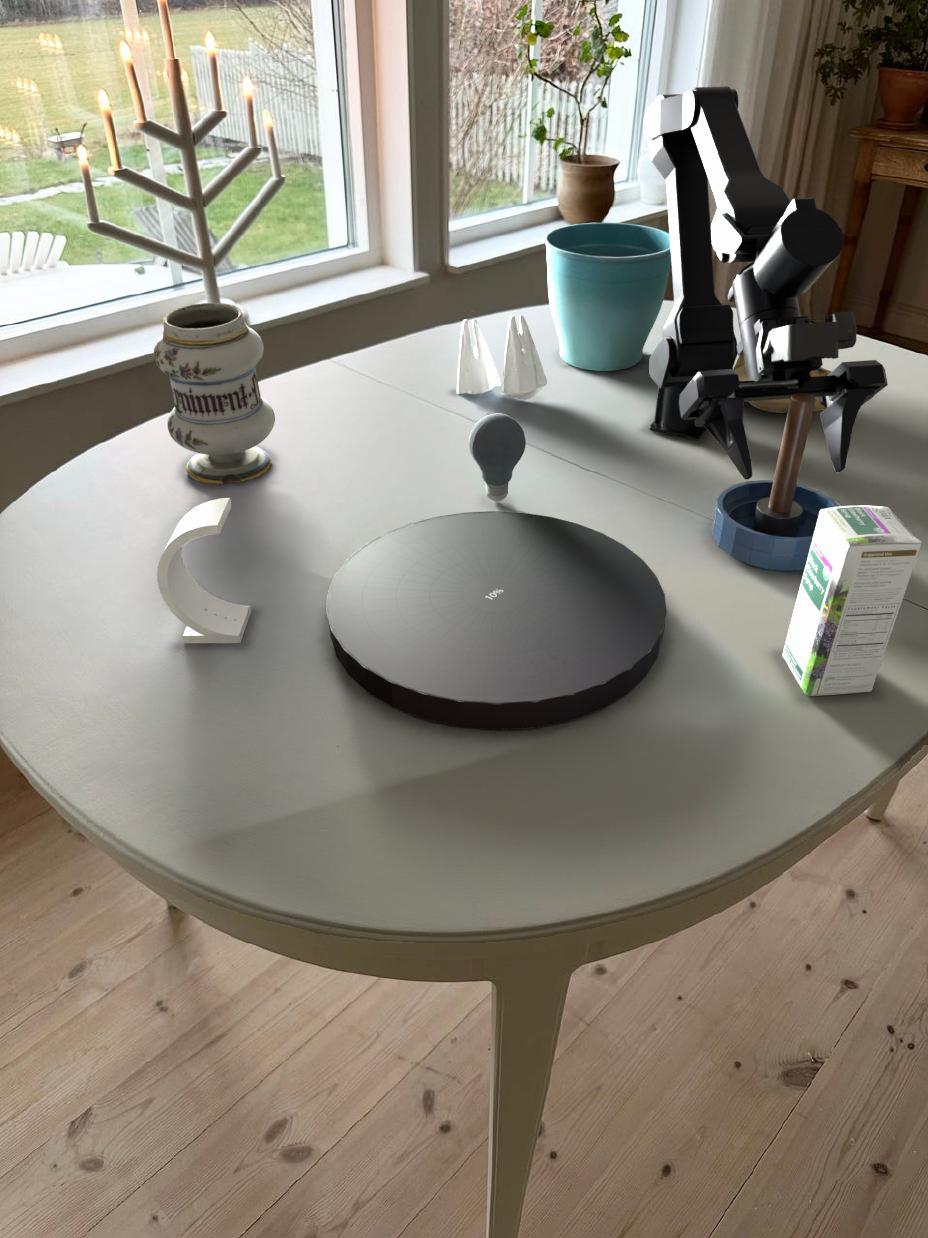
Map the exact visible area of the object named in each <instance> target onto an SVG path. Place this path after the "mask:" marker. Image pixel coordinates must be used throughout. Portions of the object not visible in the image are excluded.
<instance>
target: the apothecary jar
mask: <svg viewBox="0 0 928 1238" xmlns="http://www.w3.org/2000/svg"><path fill="white" fill-rule="evenodd" d="M162 326H163V328H162V335H161V336H160V337H159V338H158V340H156V343H155V344H154V348H153V360H154V362H155V364H156V366H157V367H158V368H159V370H160V371H161V372H163V373H164V374H166V375H167V376H168V377H169V381H170V387H171V393H172V398H173V403H174V407H173V409H171V411H170V413H169V415H168V418H167V431H168V433H169V436H170V437H171V438H172V440H173V441H174V442H175V443H176V444H177V445H179V446H180V447H181V448H184V449H185V450H188V451H189V452H193V453H196V454H195V455H192V457H191V458H190V459H189V460H188V462H187V463H186V466H185V470H186V473H187V474H188V476H189V477H190V478H192V479H193V480H195V481H197V482H200V483H203V484H208V485H226V484H229V483H232V482H238V483H243V482H247V481H251V480H253V479H256V478H258V477H260V476H261V475H263V474H264V473H266V472H267V471H268V470H269V468H270V467H271V465H272V458H271V456H270V455H269V453H268V452H267V451H266V450H264V449H263V448H261V447H258V445H260V444H261V443H262V442H263V441H264V440H266V438H268V436H269V435H270V434H271V432H272V431H273V429H274V426H275V423H276V415H275V411H274V408H273V407H272V405H271V404H270V403H269V402H268V401H267V399H265V398H264V397H262V395H261V390H260V386H259V379H258V375H257V374H258V373H257V368H256V367H257V364H259V362H260V361H261V359H262V358H263V355H264V342H263V340H262V338H261V336H260V335H259V334H258V332H256V331H255V330H254V329H253V328H251V327H250V326H248V324H247V323H246V321H245V317H244V314H243V312H242V310H241V309H240V308H239V307H237V306H235V305H233V304H229V303H221V302H203V303H196V304H195V303H194V304H189V305H185V306H182V307H178V308H176V309H173V310H171V311H170V312H168V313H167V314H165V316H164V317H163V319H162Z"/></svg>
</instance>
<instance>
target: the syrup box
mask: <svg viewBox="0 0 928 1238" xmlns="http://www.w3.org/2000/svg"><path fill="white" fill-rule="evenodd" d="M839 506H840V507H832V508H826V509H821V510H820V513H819V517H818V521H817V524H816V528H815V532H814V536H813V540H812V543H811V547H810V551H809V555H808V559H807V563H806V566H805V570H803V574H802V577H801V582H800V585H799V589H798V593H797V596H796V597H797V598H796V600H795V605H794V607H793V612H792V616H791V619H790V623H789V627H788V632H787V636H786V640H785V643H784V647H783V651H782V658H783V659H784V660H785V662H786V664H787V666H788V668H789V669H790V671H791V673H792V675H793V676H794V678H795V680H796V682H797V683H798V685H799V687H800V689H801V690H802V692H803V694H804V695H805V697H817V696H818V697H819V696H833V695H834V696H835V695H847V694H859V693H860V694H861V693H871V692H872V690H873V689H874V684H875V682H876V679H877V676H878V673H879V670H880V667H881V665H882V662H883V659H884V656H885V653H886V650H887V647H888V643H889V640H890V637H891V636H892V633H893V629H894V626H895V623H896V620H897V617H898V614H899V612H900V608H901V605H902V602H903V600H904V597H905V594H906V591H907V588H908V585H909V583H910V579H911V577H912V574H913V570H914V567H915V565H916V562H917V558H918V556H919V552H920V550H921V546H922V541H921V540H920V539H919V538H917V537H915V536H914V534H913V533H912V531H910V529H909V528H908V527H907V526H906V525H905V524H904V522H903V521H902V520H901V519H900V518H899V517H898V516H897V515H896V514H895V513H894V512H893V511H892V509H890V508H889V507H888V506H884V505H883V506H882V505H881V506H880V505H864V504H863V505H844V506H843V505H839Z"/></svg>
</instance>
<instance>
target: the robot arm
mask: <svg viewBox="0 0 928 1238" xmlns="http://www.w3.org/2000/svg"><path fill="white" fill-rule="evenodd" d="M643 132H644V133H643V134H644V138H645V139H646V140H647V144H648V151H649V159H650V161H651V163H652V165H654V167H655V168H656V170H657V171H658V172H659V174H660V175H661V176H662V178H663V179H664V181H665V188H666V202H667V216H668V217H667V218H668V233H669V234H670V249H671V264H672V265H671V273H672V274H671V275H672V292H673V306H672V308H671V310H670V313H669V315H668V316H667V318H666V320H665V322H664V324H663V326H662V329H661V340H660V342H659V343H658V344H657V346H656V348H655V349H654V351H653V352H652V354H651V355H650V356H649V362H648V363H649V364H648V365H649V366H648V368H649V370H648V371H649V377H650V378H651V379H652V381H653V382H654V383H655V384H656V385H657V386H658V388H657V395H656V403H655V404H656V405H655V413H654V420H653V422H652V423H651V424H650V425H649V428H648V430H649V431H651V432H656V433H660V434H665V435H669V436H674V437H678V438H679V437H680V438H684V439H689V440H695V441H698V440H700V439H702V437H703V436H704V434H705V433H706V432H708V434H710V436H711V437H712V438H713V439H714V440H715V441H716V442H717V443H718V445H719V446H720V447H721V448H722V450H723V451H724V452H725V454H726V455H727V457H728V458H729V460H730V461H731V462H732V464H733V465H734V466H735V468H736V470H737V471H738V473H739V474H740V476H742V478H743V479H744V480H746V481H747V480H750V479H751V478H752V477H753V464H752V458H751V457H752V456H751V451H750V448H749V443H748V438H747V432H746V428H745V424H744V410H745V409H744V408H745V402H749V401H761V400H776V399H791V395H793V394H795V393H806V394H810V395H812V396H814V397H819V399H820V403H821V404H822V405H823V406H824V407H826V409H825V410H822V412H820V413H819V416H820V422H821V425H822V429H823V432H824V434H823V435H824V438H825V441H826V445H827V450H828V453H829V458H830V461H831V464H832V466H833V468H834V471H835V473H841V472H843V471H845V469H846V466H847V460H848V455H849V452H850V451H849V449H850V445H851V441H852V435H853V431H854V426H855V423H856V420H857V417H858V414H859V411H860V410H861V408H862V406H863V405H865V404H866V403H868V402H869V401H870V400H872V399H873V398H874V397H875V396H876V395H877V394H878V393H880V392H881V391H882V390H884V389H885V388H886V387H888V385H889V383H888V378H887V377H888V376H887V372H886V368H885V366H884V365H883V364H882V363H880V361H878V360H876V359H869V360H853V361H841V362H840V364H838V365H837V366H836V367H835V368H834V369H833V370H831V371H832V372H831V373H830V374H829V375H827V376H815V377H811V375H810V372H811V371H812V370H818V369H819V368H820V367H822V366H823V365H824V363H823V359H833V360H836V359H839V351H840V350H845V349H851V348H854V347H855V345H856V343H857V333H858V332H857V329H858V328H857V325H856V319H855V317H854V312H853V311H843V312H834V313H832V314H831V313H830V314H827V315H826V316H825V319H824V321H823V322H822V321H821V322H820V321H819V322H811V320H810V318H809V316H808V315H804V316H801V312H800V306H799V300H798V297H800V296H801V295H804V294H805V293H807V291H808V290H809V289H810V288H811V287H812V286H813V285H814V284H815V283H816V282H817V280H818V279H819V278H820V277H821V276H822V275H823V274H824V272H825V271H826V270H827V269H828V268H829V267H830V266H831V265H832V263H834V261H835V260H836V259H837V258H838V257H839V256H840V254H841V252H842V250H843V246H844V243H845V241H844V232H843V229H842V228H841V227H840V225H839V224H838V222H837V221H836V220H835V219H834V218H833V217H832V216H831V215H830V214H829V213H827V212H826V211H823V210H821V209H819V208H817V204H816V200H815V198H814V197H799V198H797V197H796V198H793V199H792V200H790V199H789V197H788V195H787V193H786V192H785V190H784V189H783V187H782V186H781V185H779V184H777V183H775V182H773V181H772V180H770V179H769V178H767V177H765V176H764V174H763V172H762V169H761V167H760V164H759V161H758V159H757V156H756V153H755V151H754V149H753V146H752V143H751V141H750V138H749V135H748V133H747V130H746V127H745V125H744V123H743V119H742V116H741V114H740V112H739V95H738V92H737V90H736V89H735V88H731V87H730V86H698V87H694V88H693V89H692V90H687V91H686V92H683V93H677V94H676V93H673V94H658V95H657V96H656V98H655V100H654V102H653V103H651V104H649V106H648V105H647V108H646V110H645V112H644V118H643ZM709 185H710V187H711V191H712V195H713V196H714V199H715V203H716V210H715V213H714V216H713V219H712V221H711V211H710V210H711V209H710V193H709V191H710V190H709ZM713 251H714V252H716V256H717V257H718V259H719V261H720V262H721V263H724V264H725V263H726V264H736V263H748V264H747V265H745V267H743V268H742V269H741V270H740V271H739V272H738V273H736V277H735V278H734V280H733V281H732V284H731V287H730V288H729V289H728V294H727V301H728V302H729V303H730V302H734V303H735V309H736V316H737V322H738V328H739V335H740V341H739V343H738V341H737V337H736V334H735V328H734V310H733V309H732V306H731V305H730V304H723V303H722V302H721V300H720V299H719V298H718V296H717V295H716V285H715V271H714V270H715V269H714V256H713ZM739 355H744V360H745V367H746V373H747V379H748V380H747V381H739V378H738V374H737V373H736V372H735V371H734V370H733V368H734V366H735V364H736V361H737V356H738V357H739Z"/></svg>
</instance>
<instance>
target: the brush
mask: <svg viewBox="0 0 928 1238" xmlns="http://www.w3.org/2000/svg"><path fill="white" fill-rule="evenodd" d="M815 401H816V398H815V397H814V396H812V395H810V394H806V393H795V394H793V395H791V399H790V403H789V408H788V413H786V417H785V424H784V428H783V431H782V432H783V433H782V437H781V442H780V448H779V451H778V457H777V462H776V466H775V471H774V476H773V479H772V480H773V485H772V490H771V495H770V497H767V498H763V499H761V500H760V501H758V503H757V506H756V511H755V516H754V521H753V526H752V530H754V531H756V532H760V533H764V534H768V535H773V536H780V537H792V538H797V533H798V529H799V525H800V521H801V516H802V512H803V510H802V507H801V506H800V505H799V504H798V503H796V502H795V501H793V499H794V494H795V490H796V485H797V484H798V480H799V475H800V472H801V468H802V463H803V458H804V453H805V450H806V445H807V441H808V436H809V432H810V427H811V424H812V423H811V422H812V418H813V414H814V411H813V410H814V405H815Z"/></svg>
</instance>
